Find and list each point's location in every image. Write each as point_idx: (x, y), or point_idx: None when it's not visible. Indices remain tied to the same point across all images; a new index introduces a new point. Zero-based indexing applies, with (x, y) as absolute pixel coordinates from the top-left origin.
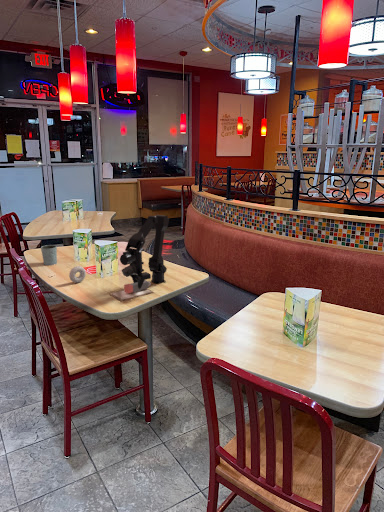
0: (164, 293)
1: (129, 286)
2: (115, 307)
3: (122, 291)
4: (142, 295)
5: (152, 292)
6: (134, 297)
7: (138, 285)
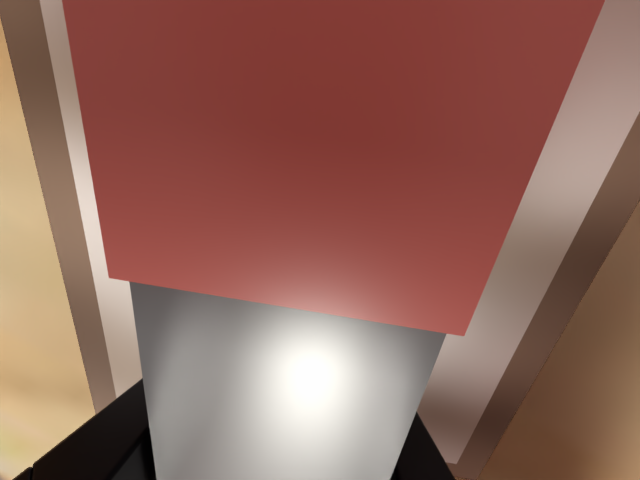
0: (10, 451)
1: (78, 68)
2: None
3: (616, 26)
4: (59, 229)
5: (93, 398)
6: (3, 8)
7: (126, 411)
